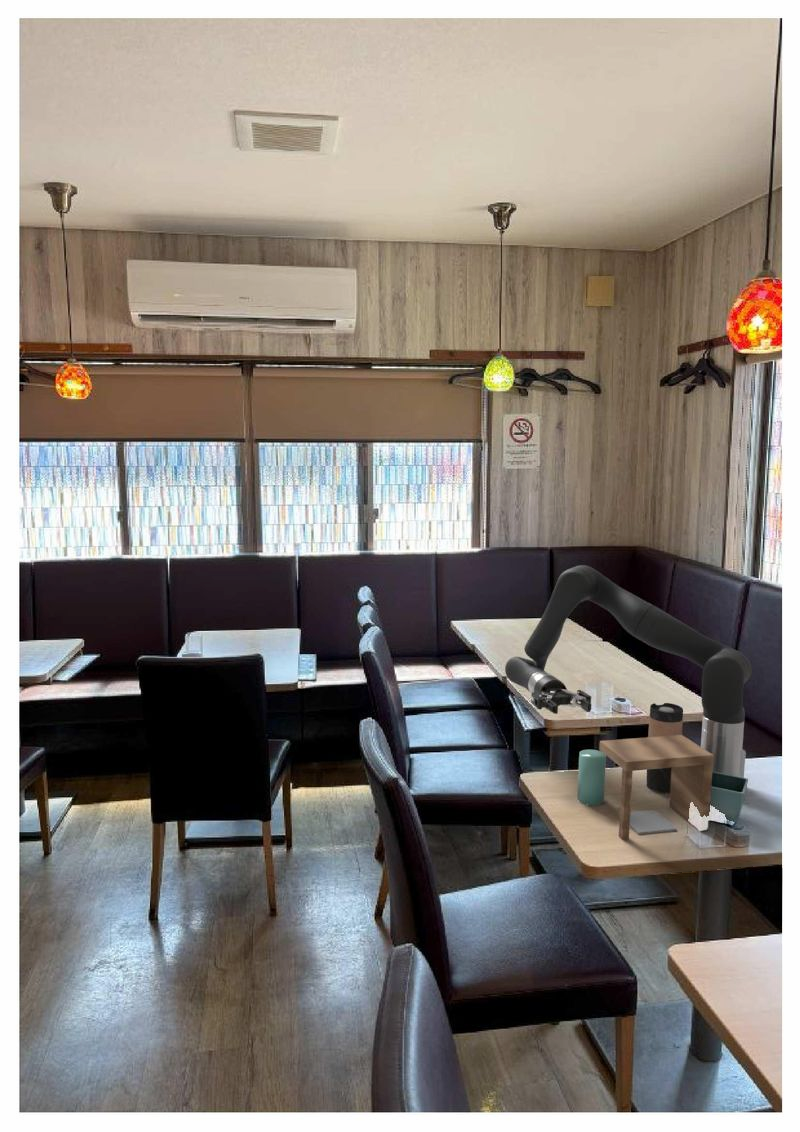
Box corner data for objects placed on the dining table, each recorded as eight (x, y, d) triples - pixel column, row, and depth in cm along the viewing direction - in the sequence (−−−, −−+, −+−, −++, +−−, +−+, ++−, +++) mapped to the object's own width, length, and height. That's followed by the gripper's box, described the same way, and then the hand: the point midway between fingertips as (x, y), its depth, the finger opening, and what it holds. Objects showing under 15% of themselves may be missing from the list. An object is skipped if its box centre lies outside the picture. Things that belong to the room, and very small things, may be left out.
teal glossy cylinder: (596, 793, 186) (598, 748, 185) (608, 804, 180) (610, 758, 179) (573, 795, 185) (575, 750, 183) (584, 806, 179) (586, 760, 178)
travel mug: (672, 796, 184) (677, 714, 182) (640, 788, 189) (645, 708, 186) (682, 786, 190) (688, 706, 188) (651, 777, 195) (656, 700, 192)
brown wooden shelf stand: (677, 806, 180) (681, 734, 177) (708, 830, 168) (713, 754, 166) (596, 813, 175) (599, 740, 173) (622, 839, 164) (626, 762, 161)
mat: (654, 811, 177) (654, 809, 177) (676, 830, 168) (676, 828, 168) (617, 815, 175) (618, 813, 175) (638, 834, 166) (638, 832, 166)
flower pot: (741, 833, 167) (744, 793, 166) (697, 823, 172) (700, 784, 170) (745, 816, 175) (748, 778, 174) (703, 807, 179) (706, 770, 178)
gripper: (521, 676, 204) (546, 695, 189) (572, 673, 207) (601, 692, 192) (520, 703, 205) (544, 725, 190) (571, 701, 209) (599, 722, 193)
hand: (573, 709), depth 191 cm, fingers open, 8 cm apart
